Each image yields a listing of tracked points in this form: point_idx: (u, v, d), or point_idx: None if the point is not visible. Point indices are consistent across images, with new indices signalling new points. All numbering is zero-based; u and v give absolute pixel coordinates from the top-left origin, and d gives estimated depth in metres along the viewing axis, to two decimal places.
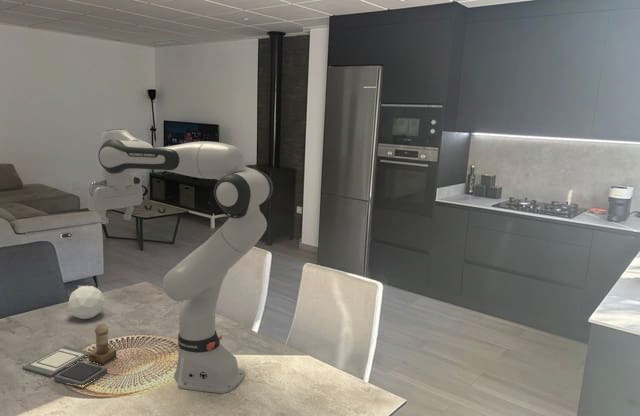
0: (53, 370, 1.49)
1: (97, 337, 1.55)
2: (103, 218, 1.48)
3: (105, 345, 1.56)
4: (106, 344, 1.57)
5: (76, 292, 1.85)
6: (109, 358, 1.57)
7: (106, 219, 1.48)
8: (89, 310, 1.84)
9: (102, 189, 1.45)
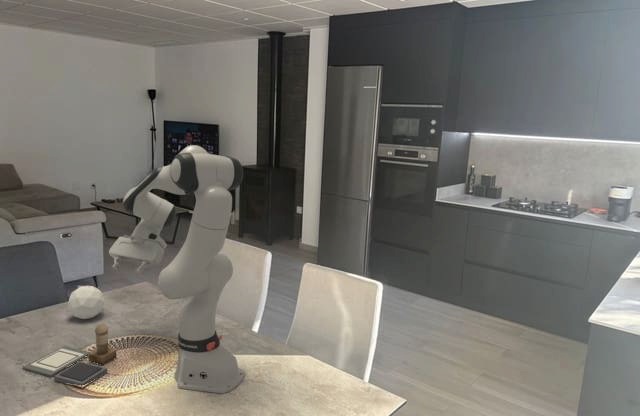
0: (53, 370, 1.49)
1: (97, 337, 1.55)
2: None
3: (105, 345, 1.56)
4: (106, 344, 1.57)
5: (76, 292, 1.85)
6: (109, 358, 1.57)
7: (115, 264, 1.66)
8: (89, 310, 1.84)
9: (122, 238, 1.71)
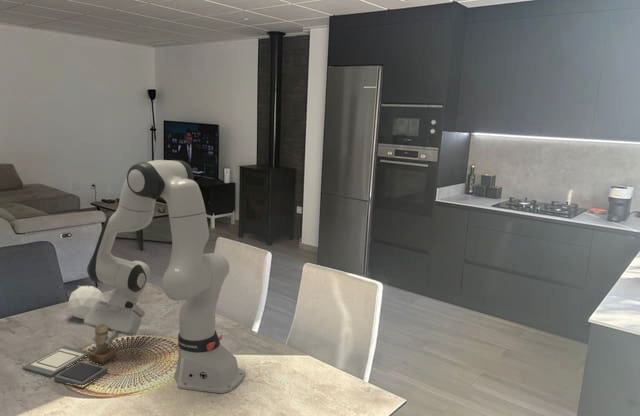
0: (53, 370, 1.49)
1: (97, 337, 1.55)
2: None
3: (105, 345, 1.56)
4: (106, 344, 1.57)
5: (76, 292, 1.85)
6: (109, 358, 1.57)
7: (94, 335, 1.57)
8: (89, 310, 1.84)
9: (98, 305, 1.63)
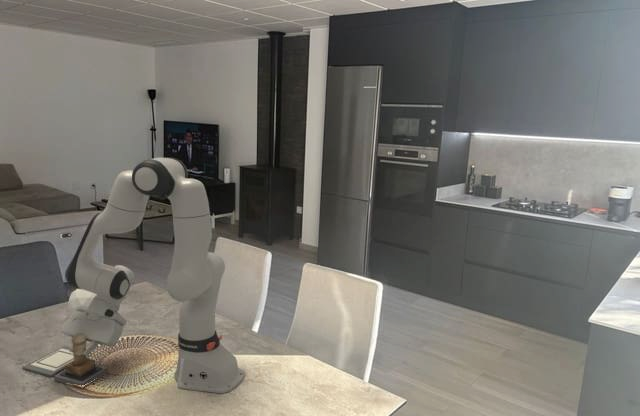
0: (53, 370, 1.49)
1: (74, 347, 1.44)
2: None
3: (83, 356, 1.45)
4: None
5: (76, 292, 1.85)
6: (87, 369, 1.46)
7: (72, 346, 1.46)
8: None
9: (76, 313, 1.52)
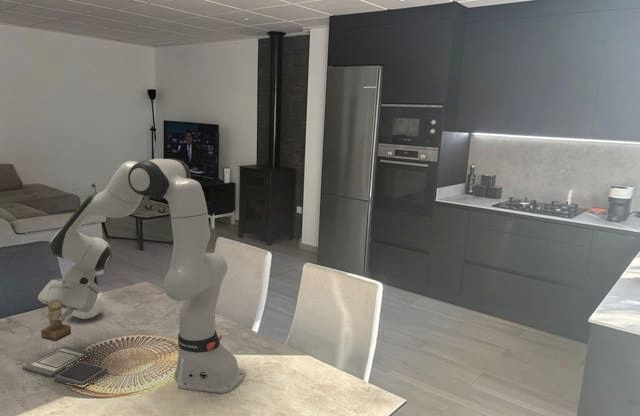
0: (53, 370, 1.49)
1: (49, 313, 1.51)
2: None
3: (58, 321, 1.52)
4: None
5: None
6: (63, 334, 1.53)
7: (48, 312, 1.53)
8: None
9: (53, 282, 1.59)
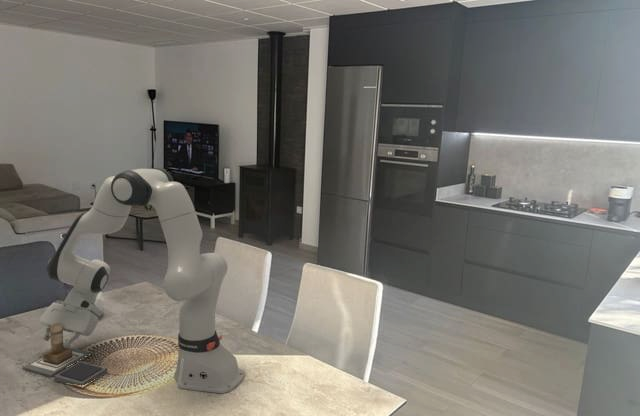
0: (53, 370, 1.49)
1: (51, 337, 1.52)
2: None
3: (60, 345, 1.53)
4: (61, 343, 1.54)
5: None
6: (64, 358, 1.54)
7: (44, 334, 1.55)
8: None
9: (55, 305, 1.60)
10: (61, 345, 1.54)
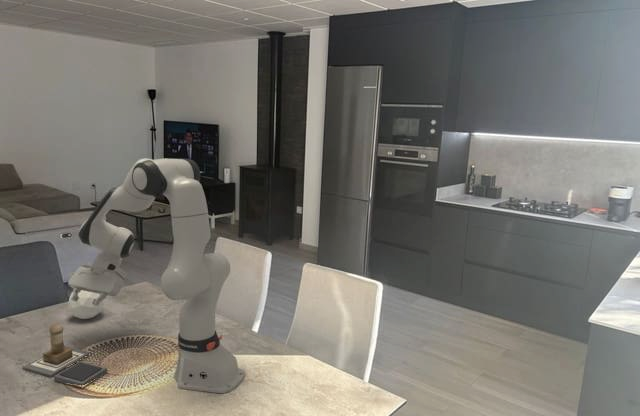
0: (53, 370, 1.49)
1: (51, 337, 1.52)
2: None
3: (60, 345, 1.53)
4: (61, 343, 1.54)
5: None
6: (64, 358, 1.54)
7: (73, 295, 1.65)
8: (89, 310, 1.84)
9: (82, 268, 1.70)
10: (61, 345, 1.54)
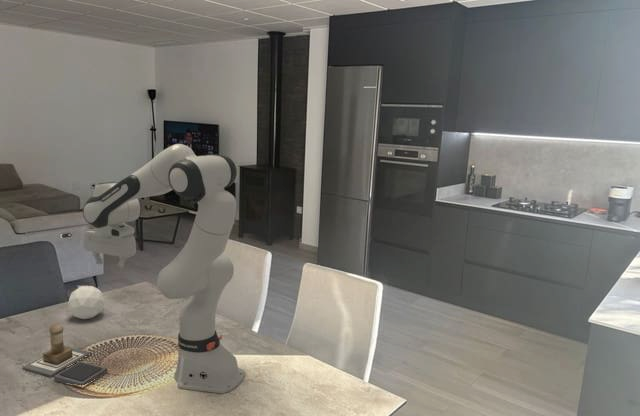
0: (53, 370, 1.49)
1: (51, 337, 1.52)
2: None
3: (60, 345, 1.53)
4: (61, 343, 1.54)
5: (76, 292, 1.85)
6: (64, 358, 1.54)
7: (96, 260, 1.66)
8: (89, 310, 1.84)
9: (88, 233, 1.64)
10: (61, 345, 1.54)
